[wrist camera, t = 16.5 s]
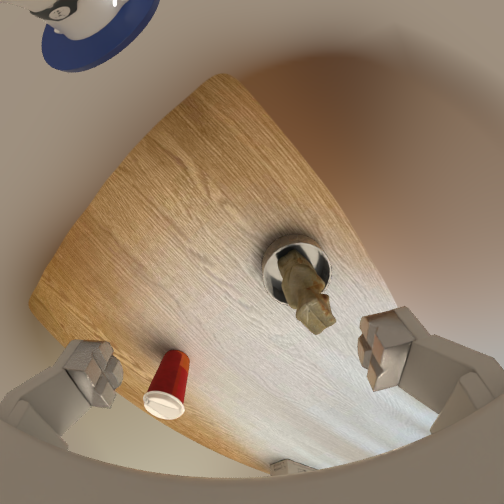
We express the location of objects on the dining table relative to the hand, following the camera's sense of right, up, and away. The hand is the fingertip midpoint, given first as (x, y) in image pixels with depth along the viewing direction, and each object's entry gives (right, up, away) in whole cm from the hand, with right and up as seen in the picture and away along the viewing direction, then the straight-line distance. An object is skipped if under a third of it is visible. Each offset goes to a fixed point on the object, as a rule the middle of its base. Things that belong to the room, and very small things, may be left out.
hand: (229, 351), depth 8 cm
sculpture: (+8, +1, +37) cm, 38 cm away
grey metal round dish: (+8, +1, +37) cm, 38 cm away
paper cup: (-15, -20, +45) cm, 52 cm away
